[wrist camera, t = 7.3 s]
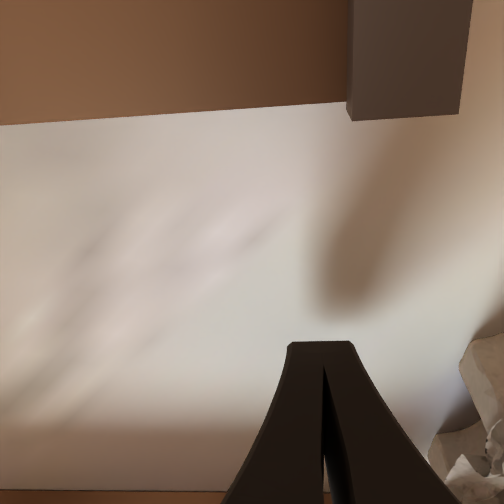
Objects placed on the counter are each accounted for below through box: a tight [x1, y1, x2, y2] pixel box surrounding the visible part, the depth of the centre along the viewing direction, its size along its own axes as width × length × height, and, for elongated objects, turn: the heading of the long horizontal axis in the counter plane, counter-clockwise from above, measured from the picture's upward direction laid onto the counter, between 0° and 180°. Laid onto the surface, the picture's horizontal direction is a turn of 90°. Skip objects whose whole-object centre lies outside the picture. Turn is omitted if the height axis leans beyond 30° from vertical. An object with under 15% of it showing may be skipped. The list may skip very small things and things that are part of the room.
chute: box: [0, 0, 473, 504], centre depth 11 cm, size 17×17×4 cm
